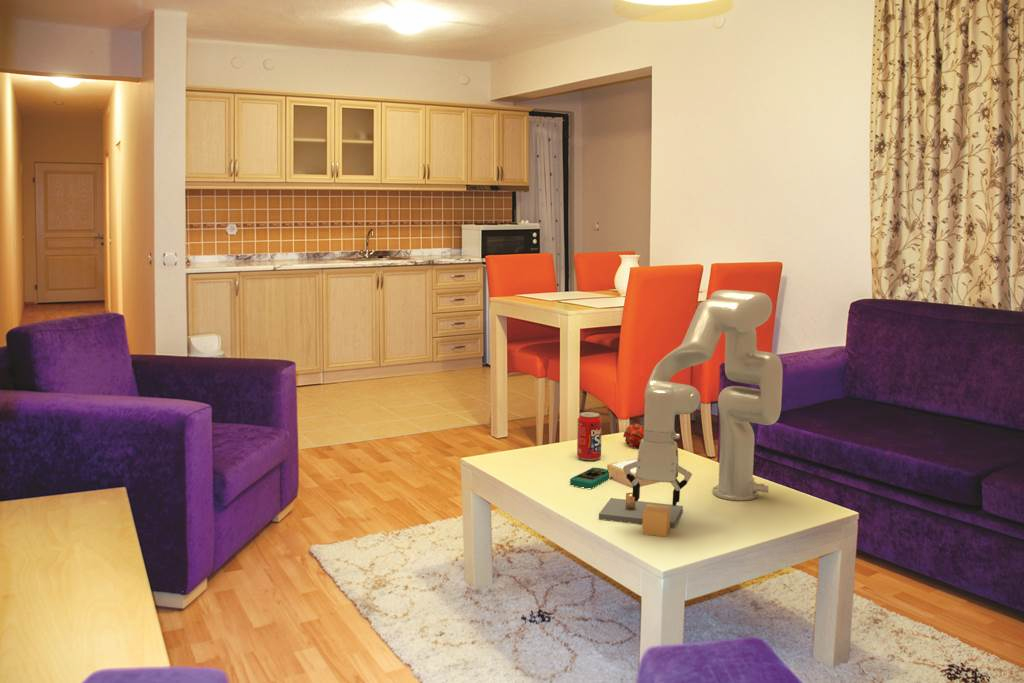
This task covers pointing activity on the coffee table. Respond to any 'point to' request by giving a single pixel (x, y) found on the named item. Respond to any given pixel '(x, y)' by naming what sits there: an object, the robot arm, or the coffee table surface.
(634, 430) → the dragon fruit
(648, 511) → the orange cube
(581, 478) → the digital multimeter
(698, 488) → the coffee table surface
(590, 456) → the soda can
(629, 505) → the pin
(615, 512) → the grey oblong slab
